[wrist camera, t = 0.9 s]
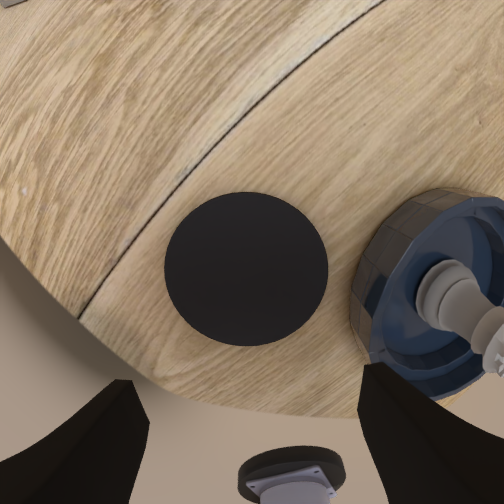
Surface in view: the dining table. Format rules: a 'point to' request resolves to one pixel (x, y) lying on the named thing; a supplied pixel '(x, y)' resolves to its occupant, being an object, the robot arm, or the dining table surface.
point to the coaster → (246, 269)
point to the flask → (9, 2)
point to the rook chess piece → (463, 311)
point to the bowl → (410, 276)
